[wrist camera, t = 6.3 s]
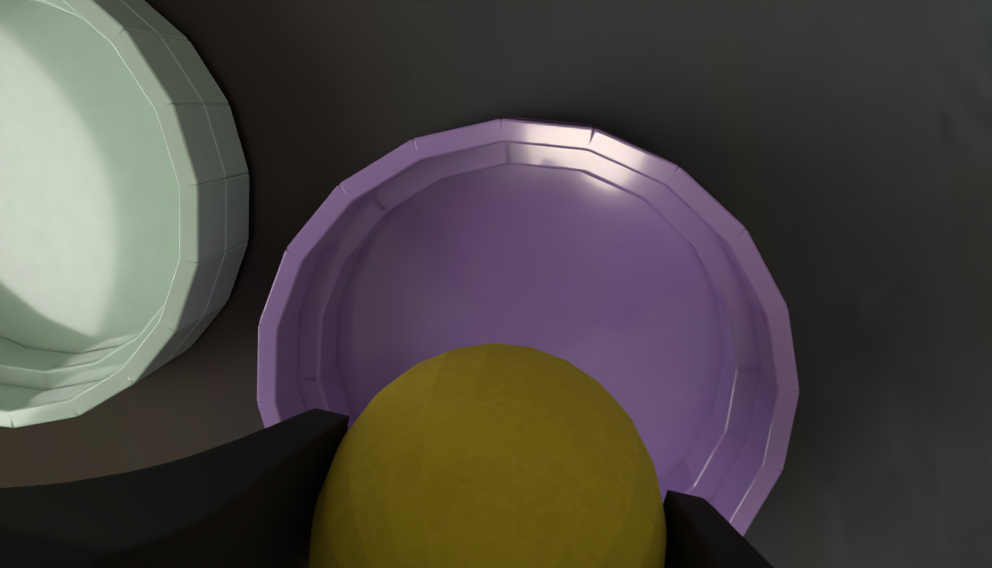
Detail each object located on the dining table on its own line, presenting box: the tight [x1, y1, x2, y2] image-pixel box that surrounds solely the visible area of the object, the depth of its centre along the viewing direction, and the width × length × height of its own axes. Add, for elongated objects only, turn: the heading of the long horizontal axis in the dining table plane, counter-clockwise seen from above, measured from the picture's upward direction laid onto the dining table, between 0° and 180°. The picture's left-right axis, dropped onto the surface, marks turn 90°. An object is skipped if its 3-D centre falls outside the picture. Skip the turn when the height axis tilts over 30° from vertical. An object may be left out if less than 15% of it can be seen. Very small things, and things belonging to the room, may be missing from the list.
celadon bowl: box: [0, 0, 249, 428], centre depth 19 cm, size 12×12×3 cm
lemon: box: [308, 343, 667, 568], centre depth 12 cm, size 6×6×8 cm
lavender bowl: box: [257, 116, 799, 536], centre depth 19 cm, size 13×13×3 cm
